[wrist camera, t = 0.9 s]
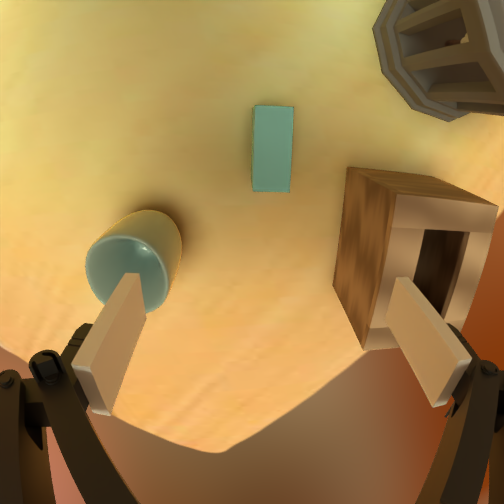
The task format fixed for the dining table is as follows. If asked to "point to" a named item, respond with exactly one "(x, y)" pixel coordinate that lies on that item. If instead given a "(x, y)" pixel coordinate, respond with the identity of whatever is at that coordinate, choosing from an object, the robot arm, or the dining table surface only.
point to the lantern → (444, 55)
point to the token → (271, 148)
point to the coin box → (408, 247)
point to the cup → (136, 256)
